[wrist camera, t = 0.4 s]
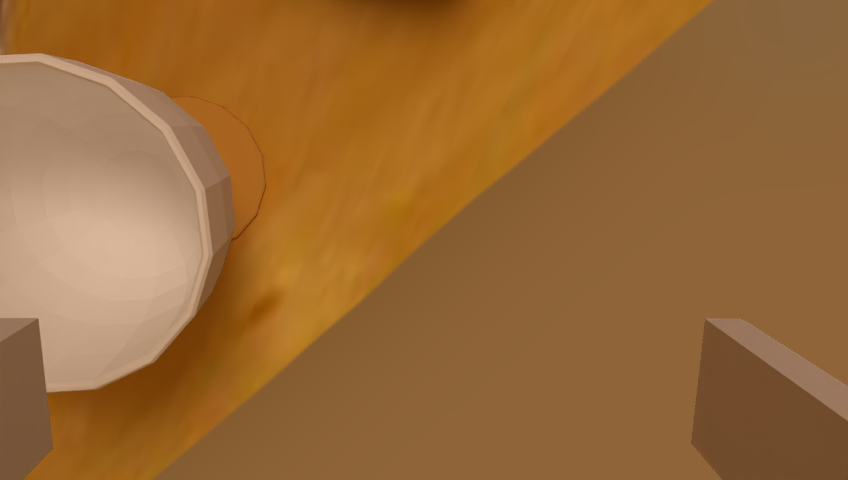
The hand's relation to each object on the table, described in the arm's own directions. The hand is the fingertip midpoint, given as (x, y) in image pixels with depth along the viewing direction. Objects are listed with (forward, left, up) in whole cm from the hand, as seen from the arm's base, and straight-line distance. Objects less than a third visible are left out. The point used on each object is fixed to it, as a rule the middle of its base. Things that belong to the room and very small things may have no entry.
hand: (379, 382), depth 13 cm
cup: (-2, -12, -27) cm, 30 cm away
